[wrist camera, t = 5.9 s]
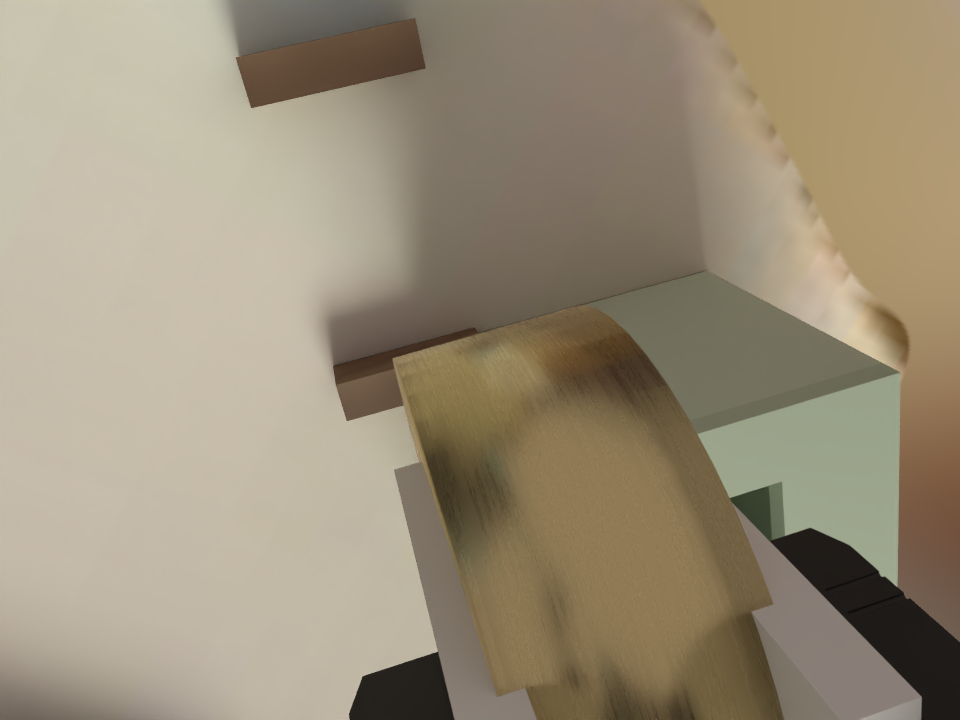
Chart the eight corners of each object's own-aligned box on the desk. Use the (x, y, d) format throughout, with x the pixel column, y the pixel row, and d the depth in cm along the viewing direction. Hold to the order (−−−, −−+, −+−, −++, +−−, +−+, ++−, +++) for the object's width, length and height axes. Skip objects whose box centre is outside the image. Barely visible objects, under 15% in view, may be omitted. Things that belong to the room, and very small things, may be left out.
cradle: (239, 57, 27) (235, 57, 26) (406, 20, 28) (414, 18, 26) (343, 400, 33) (347, 421, 31) (481, 361, 34) (492, 379, 32)
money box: (418, 350, 33) (482, 498, 22) (706, 270, 34) (900, 372, 24) (496, 656, 40) (574, 887, 29) (734, 578, 41) (894, 768, 30)
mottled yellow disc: (486, 699, 18) (637, 1189, 9) (377, 315, 15) (437, 477, 7) (612, 656, 18) (872, 1088, 9) (523, 275, 16) (757, 379, 7)
